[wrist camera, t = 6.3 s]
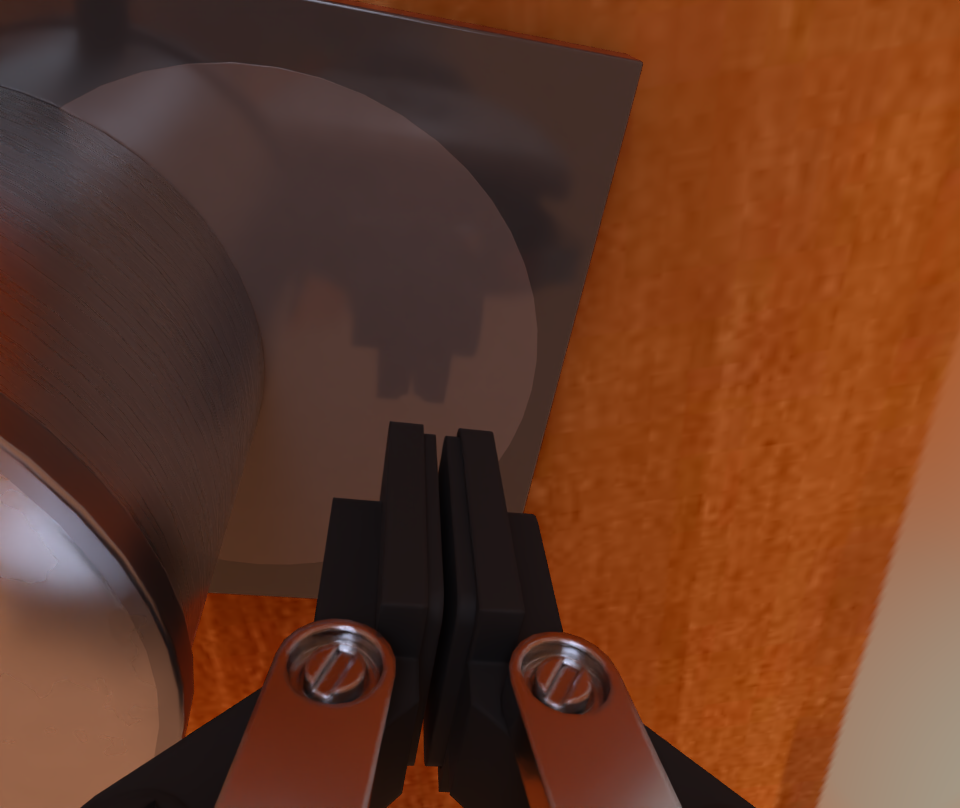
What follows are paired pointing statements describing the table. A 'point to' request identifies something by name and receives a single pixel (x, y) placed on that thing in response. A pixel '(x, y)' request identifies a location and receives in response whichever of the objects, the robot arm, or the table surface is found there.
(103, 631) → the pot
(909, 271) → the table surface
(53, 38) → the hob
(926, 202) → the table surface
